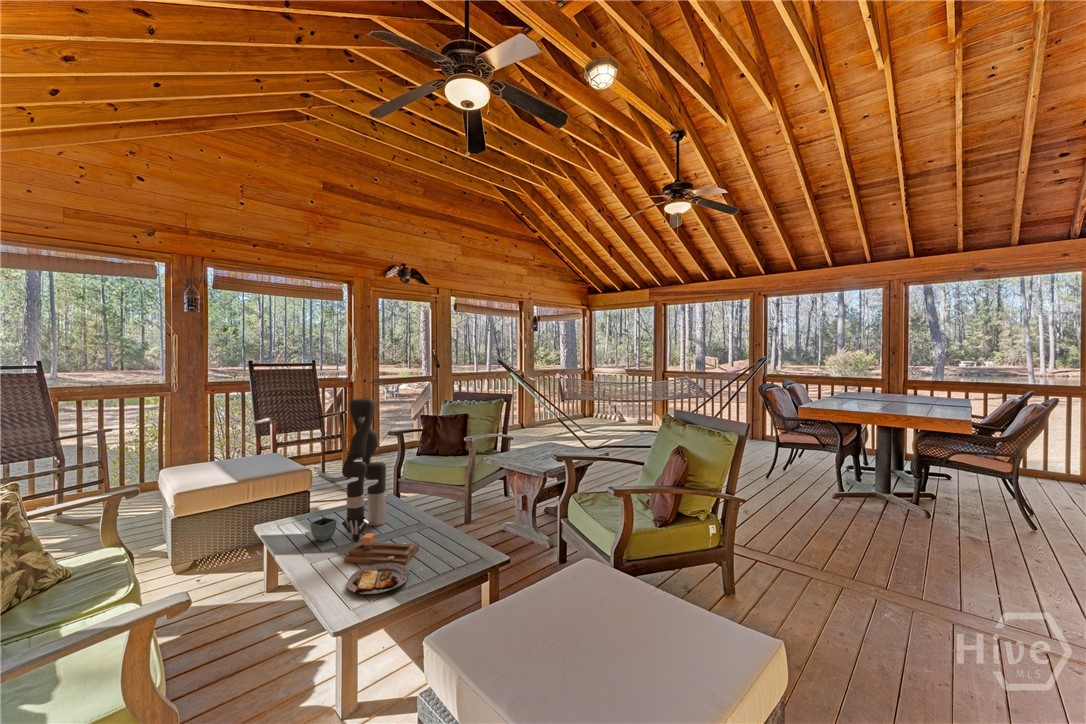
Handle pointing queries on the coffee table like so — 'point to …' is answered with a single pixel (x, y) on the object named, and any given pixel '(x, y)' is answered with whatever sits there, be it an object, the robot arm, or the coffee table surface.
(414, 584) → the coffee table surface
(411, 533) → the coffee table surface
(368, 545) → the fader
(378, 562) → the console
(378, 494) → the robot arm
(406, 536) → the coffee table surface
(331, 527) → the flower pot
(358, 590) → the food plate
